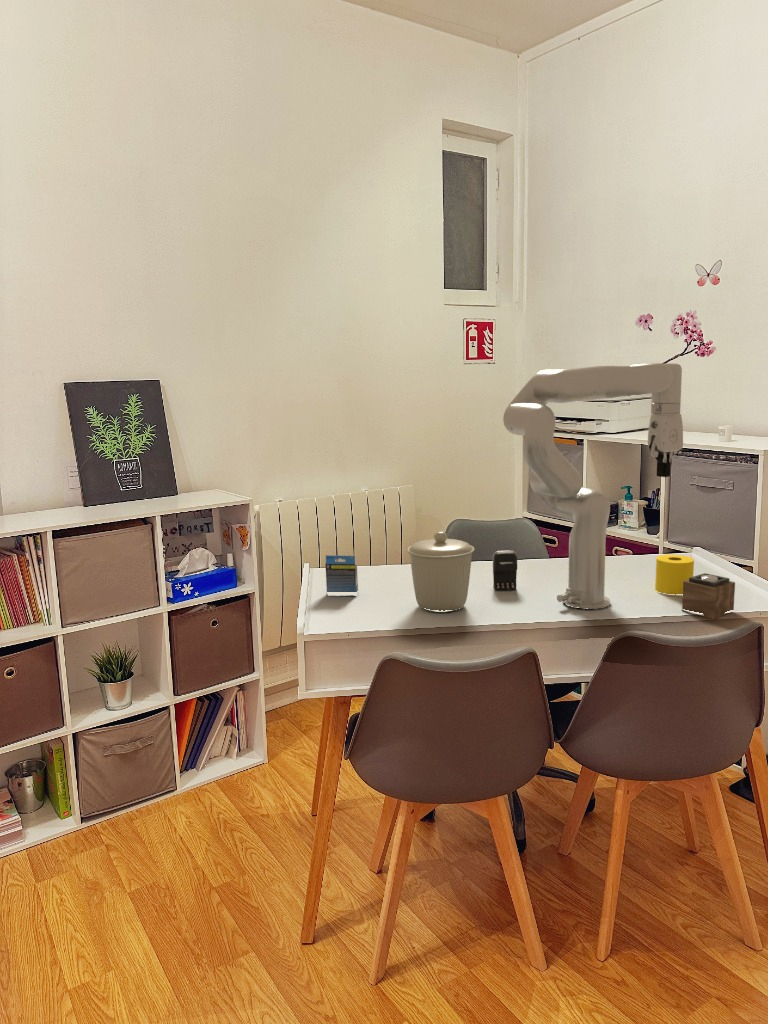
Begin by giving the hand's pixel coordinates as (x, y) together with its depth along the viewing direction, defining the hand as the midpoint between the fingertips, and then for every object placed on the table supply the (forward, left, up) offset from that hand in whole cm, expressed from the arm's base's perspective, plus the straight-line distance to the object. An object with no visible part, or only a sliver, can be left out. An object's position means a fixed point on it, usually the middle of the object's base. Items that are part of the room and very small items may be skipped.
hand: (663, 476), depth 220 cm
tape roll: (+4, -2, -33) cm, 34 cm away
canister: (-56, +29, -33) cm, 71 cm away
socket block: (-6, -19, -33) cm, 39 cm away
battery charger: (-31, +30, -33) cm, 54 cm away
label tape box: (-70, +57, -33) cm, 96 cm away
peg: (-6, -19, -32) cm, 38 cm away
